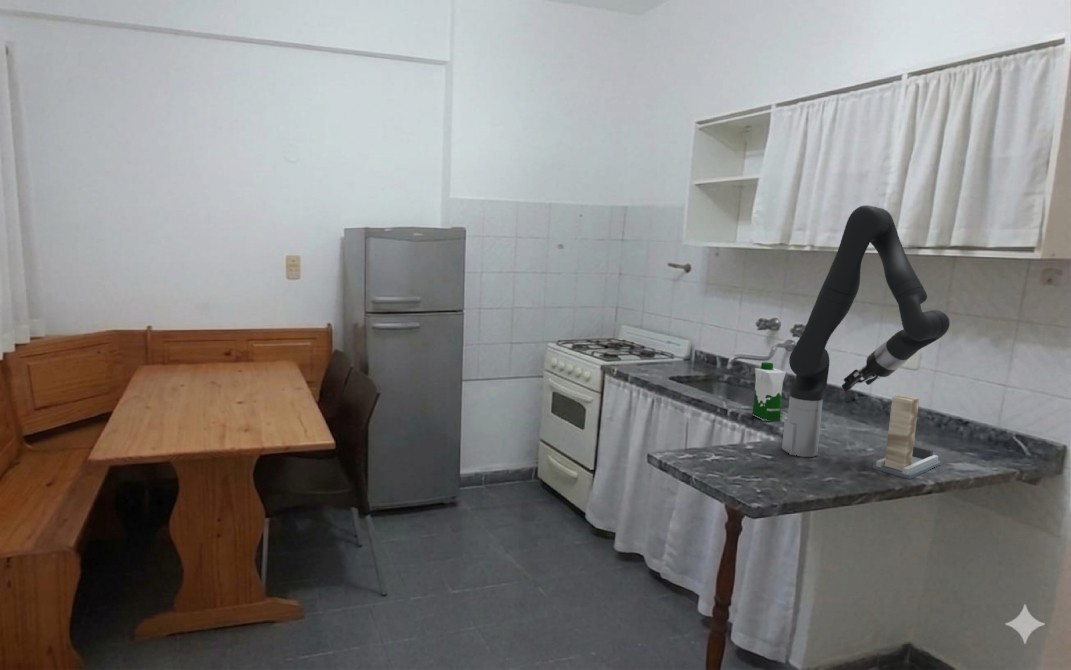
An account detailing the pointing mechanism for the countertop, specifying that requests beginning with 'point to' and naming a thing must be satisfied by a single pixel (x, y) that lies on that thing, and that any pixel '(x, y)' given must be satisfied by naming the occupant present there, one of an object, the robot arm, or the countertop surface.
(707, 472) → the countertop surface
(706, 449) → the countertop surface
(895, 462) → the block
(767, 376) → the milk carton
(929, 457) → the chute
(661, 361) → the countertop surface
